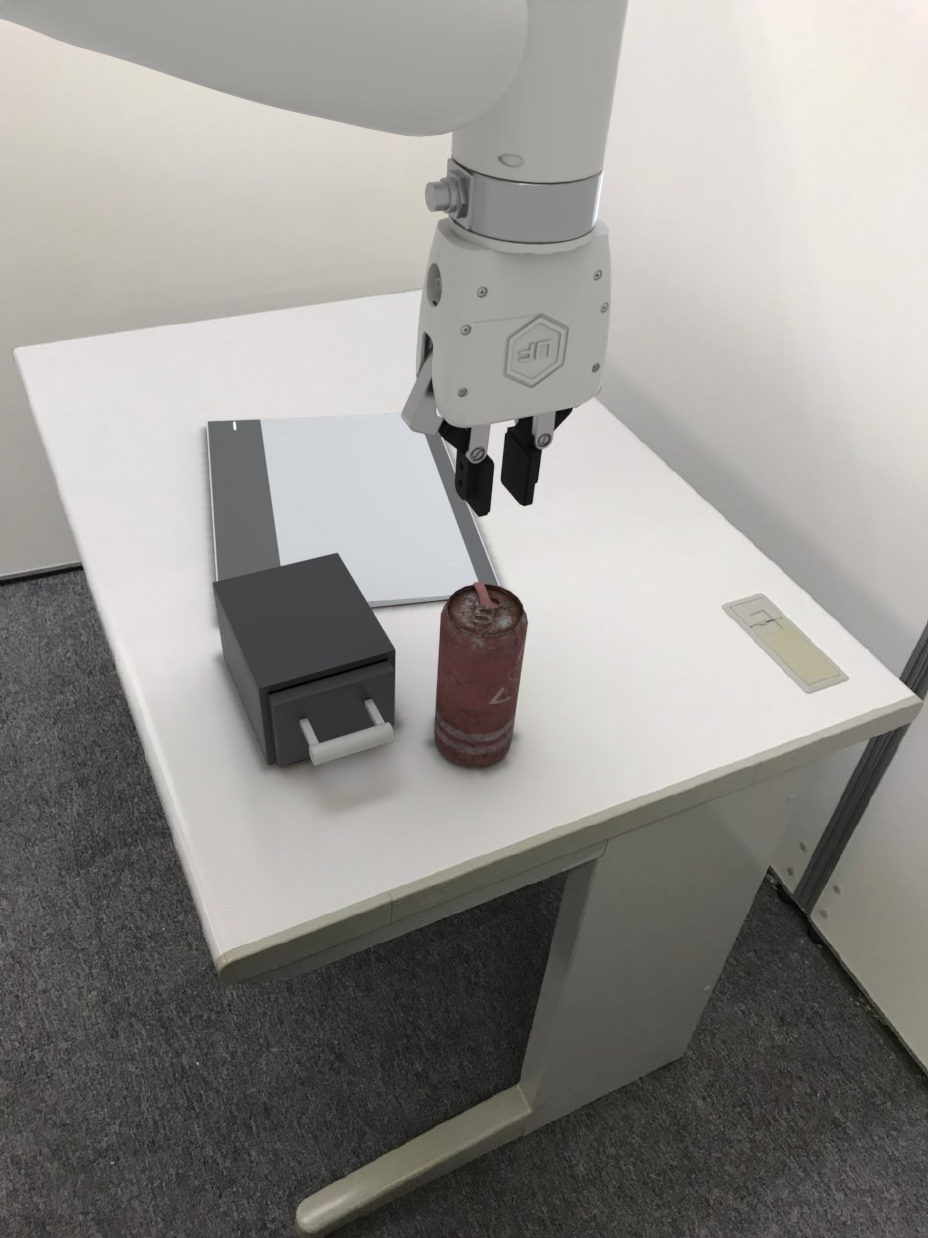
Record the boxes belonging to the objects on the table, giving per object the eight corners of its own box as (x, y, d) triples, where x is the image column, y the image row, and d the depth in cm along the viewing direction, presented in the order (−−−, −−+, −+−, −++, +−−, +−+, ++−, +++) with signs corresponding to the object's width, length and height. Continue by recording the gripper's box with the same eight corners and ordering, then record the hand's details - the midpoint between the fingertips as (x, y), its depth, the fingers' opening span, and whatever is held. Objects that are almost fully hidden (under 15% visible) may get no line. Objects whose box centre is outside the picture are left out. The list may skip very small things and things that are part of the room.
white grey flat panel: (501, 593, 89) (503, 583, 89) (219, 623, 84) (218, 613, 84) (432, 414, 112) (433, 406, 111) (207, 429, 107) (206, 420, 106)
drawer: (414, 768, 73) (416, 708, 68) (296, 807, 70) (290, 746, 65) (342, 637, 83) (340, 577, 78) (236, 666, 80) (228, 605, 75)
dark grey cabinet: (394, 725, 77) (396, 649, 71) (267, 765, 73) (258, 688, 68) (340, 627, 85) (337, 551, 79) (223, 658, 81) (212, 582, 76)
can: (492, 702, 79) (507, 570, 70) (523, 759, 75) (543, 627, 66) (422, 719, 78) (428, 585, 68) (449, 779, 73) (459, 645, 64)
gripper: (405, 243, 43) (400, 563, 56) (698, 207, 49) (634, 505, 61) (346, 187, 48) (353, 493, 60) (619, 160, 54) (574, 444, 66)
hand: (495, 497), depth 61 cm, fingers closed
